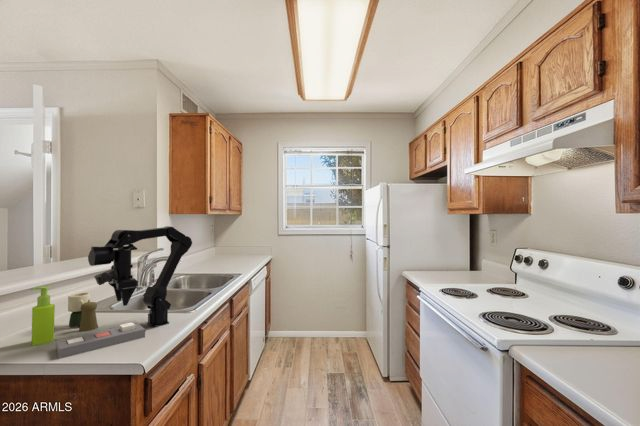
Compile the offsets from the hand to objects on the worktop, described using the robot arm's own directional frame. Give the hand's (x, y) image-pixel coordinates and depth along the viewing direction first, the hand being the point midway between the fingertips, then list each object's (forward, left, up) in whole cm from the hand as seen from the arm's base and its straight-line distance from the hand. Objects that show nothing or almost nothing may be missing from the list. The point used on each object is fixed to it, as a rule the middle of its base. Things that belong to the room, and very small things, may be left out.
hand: (121, 303), depth 115 cm
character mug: (+10, -24, -12) cm, 29 cm away
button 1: (+15, +6, -11) cm, 19 cm away
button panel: (+7, +6, -12) cm, 15 cm away
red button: (+7, +6, -11) cm, 15 cm away
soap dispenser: (+22, -11, -12) cm, 27 cm away
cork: (+8, -15, -12) cm, 21 cm away
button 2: (0, +6, -10) cm, 12 cm away
